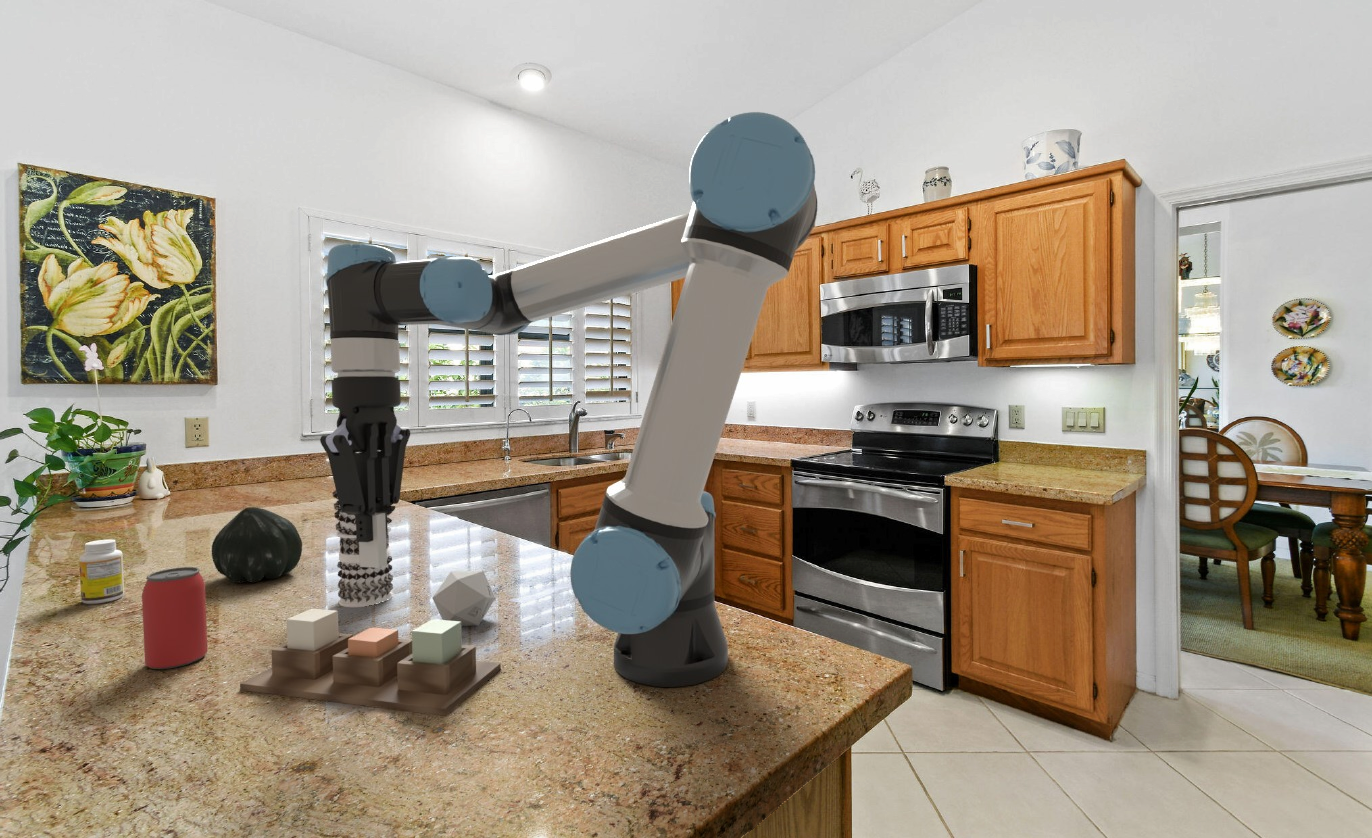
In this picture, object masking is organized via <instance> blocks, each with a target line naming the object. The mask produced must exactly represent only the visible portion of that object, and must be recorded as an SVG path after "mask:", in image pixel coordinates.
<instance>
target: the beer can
mask: <svg viewBox="0 0 1372 838" xmlns="http://www.w3.org/2000/svg"><path fill="white" fill-rule="evenodd" d="M200 571H201V570H200V568H198V567H194V566H185V567H183V566H182V567H174V568H167V569H163V570H157V571H155V572H151V573H150V574H148V575H147V576H146V581H145V585H144V586H143V589H142V594H141V599H142V600H141V602H142V627H143V648H144V649H143V651H144V664H145V665H146V666H147V667H148V668H149V669H153V670H167V669H168V670H170V669H174V668H175V669H176V668H180V667H185V666H187V665H189V664H192V663H195V662H197V661H199V660H200V659H202V658H204V656H205V655H206V654H207V652H208V629H207V627H208V626H207V608H206V607H207V604H206V599H207V598H206V582H205V581H204V577H203V576H202V574H201V572H200Z"/></svg>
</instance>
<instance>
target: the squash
mask: <svg viewBox="0 0 1372 838" xmlns="http://www.w3.org/2000/svg"><path fill="white" fill-rule="evenodd" d="M302 553H303V541H302V538H301V536H300V534H299V531H298V530H297V528H296V526H295V525H294V524H293V522H291V521H290V520H289V519H287V518H286V517H283V516H282V515H279V514H277V513H275V512H272V511H271V510H267V509H264V508H260V507H255V506H249V507H244V508H243V509H241V510H240V511H239V512H238V513H237V514H236V515H235V516H234V517H232V519H231V520H229V521H228V523H226V524H225V525H224V526H223V527H222V528H221V530H220V531H219V532H218V533H217V534H216V535H215V537H214V539H213V542H212V545H211V558H212V561H213V565H214V567H215V569H216V570H217V572H218V573H220V574H221V575H222V576H224V577H226V579H228V580H230V581H231V582H232V583H236V584H237V583H238V584H240V583H246V582H250V583H253V584H255V583H257V582H260V581H261V580H263V578H264V577H265V578H266V579H268V580H269V579H270V580H272V579H278V578H279V577H280V576H283V575H286V574H288V573H290V572H291V571H293V570H294V569H295V568H296V567H297V565H298V564H299V562H300V560H301V557H302Z"/></svg>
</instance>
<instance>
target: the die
mask: <svg viewBox="0 0 1372 838" xmlns="http://www.w3.org/2000/svg"><path fill="white" fill-rule="evenodd" d="M432 600H433V602H434V604H435V607H436V610H437V611H438V613H439V614H440V618H441V620H449V621H460V622H461V627H463V626H465V627H468V626H469V627H472V626H473V627H474V626H475V627H476V626H477V627H478V626H480V625H481V622H482V621H483V619H484V618H485V616H486V615H487V613H488V611H489V609H491V607H492V604H494V601H495V600H496V597H495V595H494V592H493V590H492V587H491V584H490V583H489V581H488V578H487V576H486V574H485V572H484V570H471V571H470V570H469V571H468V570H466V571H465V570H464V571H463V570H462V571H459V570H458V571H456V570H455V571H454V570H452V571H450V572H449V574H448V575H447V576H446V578H445V579H444V581H443V582H442V584H441V585H440V586H439V588H438V589H437V590H436V591H435V593H434V594H433V596H432Z"/></svg>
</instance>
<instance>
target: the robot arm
mask: <svg viewBox="0 0 1372 838" xmlns="http://www.w3.org/2000/svg"><path fill="white" fill-rule="evenodd" d="M688 177H689V178H688V179H689V181H688V182H689V183H688V184H689V185H688V186H689V194H690V196H691V198H692V205H691V207H690V211H689V212H686V213H683V214H681V215H677V216H673V217H671V218H667V219H665V220H661V221H658V222H656V223H655V222H654V223H653V224H648V225H646V226H643V227H639V228H637V229H632V230H630V231H627V232H624V233H620V234H617V235H615V236H610V237H608V238H605V239H602V240H599V241H596V242H593V243H590V244H587V245H584V246H580V247H577V248H574V249H571V250H567V251H564V252H562V253H559V254H558V253H557V254H555V255H552V256H549V257H545V258H543V259H540V260H536V261H534V262H530V263H527V264H523V265H521V266H517V267H516V268H513V269H510V270H506V271H503V272H499V273H496V274H492V275H489V273H488V272H487V270H486V269H484V268H483V267H482V265H481V263H480V262H479V261H478V260H477V259H474V258H472V257H465V256H463V257H454V256H448V255H447V256H441V257H437V258H429V259H428V258H426V259H418V260H417V259H416V260H414V259H413V260H403V261H401V260H400V261H397V260H396V259H397V258H396V254H395V253H394V252H393V251H392V250H391V249H389V248H386V247H383V246H380V245H374V244H367V243H360V244H359V243H356V244H355V243H342V244H337V245H334V246H333V247H331V248H330V250H329V252H328V254H327V271H326V272H327V273H326V279H325V284H326V288H327V298H328V299H327V300H328V315H329V331H330V333H329V339H330V359H331V360H330V361H331V371H332V372H333V374H334V373H335V374H337V376H336V377H333V379H332V380H331V400H332V401H331V402H332V405H333V407H334V408H337V409H338V412H339V413H338V414H339V415H338V417H337V419H336V420H337V421H336V428H335V430H334V431H333V432H332V433H331V434H323V435H321V437H320V438H319V439H320V440H319V442H320V444H321V446H322V448H323V450H324V451H325V453H326V455H327V457H328V461H329V462H328V463H329V466H330V471H331V475H332V478H333V482H334V484H333V485H334V487H335V490H336V492H337V496H338V499H337V501H339V507H340V509H341V511H342V512H344V513H347V514H348V515H355V518H356V533H357V534H356V538H357V541H358V542H359V557H360V567H372V568H380V567H382V566H385V565H387V549H386V536H387V532H388V528H387V525H388V523H387V517H388V516H387V512H392V513H393V512H394V511H395V510H396V505H397V504H398V503H399V501H400V499H401V498H400V497H401V487H402V481H403V473H404V466H405V465H404V464H405V457H406V447H407V445H408V443H409V439H410V437H411V431H410V429H408V428H402V427H400V426H399V425H398V424H397V423H398V422H397V421H398V420H397V416H396V413H395V409H394V408H396V407H399V406H400V405H401V403H402V399H401V398H402V397H401V379H399V377H396V374H397V373H399V372H400V371H401V361H400V360H401V359H400V358H401V357H400V341H399V326H408V325H414V326H416V325H440V326H446V327H452V328H453V327H454V328H459V329H465V330H472V331H477V332H482V333H483V332H484V333H488V334H491V335H494V336H506V335H510V336H511V335H517V334H519V333H522V331H524V330H525V329H527V328H528V326H529V325H530V324H532V323H535V322H539V321H541V320H545V319H548V318H552V317H555V316H558V315H562V314H566V313H568V312H572V311H575V310H576V311H577V310H580V309H582V308H587V307H590V306H593V305H597V304H599V303H602V302H607V301H609V300H613V299H617V298H620V297H623V296H627V295H631V294H635V293H638V292H640V291H643V290H644V291H645V290H648V289H651V288H654V287H659V286H661V285H664V284H668V283H672V282H675V281H679V280H682V279H684V282H683V285H682V288H681V292H680V295H679V297H678V298H679V299H678V302H677V305H676V307H675V308H676V309H675V312H674V314H673V318H672V321H671V325H670V328H669V331H668V334H667V337H666V340H665V341H666V342H665V344H664V348H663V351H662V354H661V358H660V361H659V364H658V367H657V371H656V374H655V378H654V380H653V382H652V383H653V385H652V388H651V390H650V394H649V397H648V401H647V403H646V406H645V411H644V414H643V418H642V420H641V424H640V427H639V429H638V434H637V436H636V440H635V443H634V446H633V450H632V454H631V455H630V460H629V462H628V467H627V469H626V474H625V476H624V477H623V478H622V479H621V480H619V481H617V482H614V483H613V484H611V485H609V486H607V489H606V491H605V495H604V498H603V501H602V505H601V507H600V511H599V513H598V517H597V520H596V522H595V523H596V524H595V527H594V530H593V531H592V532H589V533H588V534H586V535H585V536H584V539H583V540H582V541H581V542H580V544H579V545H578V547H577V549H576V550H575V552H574V554H573V556H572V560H571V563H570V568H569V569H570V572H569V573H570V574H569V575H570V578H569V579H570V584H571V589H572V591H573V592H572V593H573V594H574V597H575V598H576V599H577V601H578V604H580V606H581V609H582V611H584V613H585V614H586V615H587V616H588V617H589V618H590V619H591V620H592V621H593V622H594V623H596V624H597V625H599V626H600V627H602V628H604V629H606V630H608V631H611V632H614V633H617V635H616V638H615V642H614V645H613V666H614V669H615V670H616V672H617V673H618V674H619V675H620V676H622V677H624V678H625V679H627V680H629V681H632V682H634V683H637V684H641V685H646V686H652V687H660V688H661V687H666V688H668V687H669V688H674V687H685V686H692V685H698V684H701V683H704V682H707V681H710V680H713V679H714V678H717V677H718V676H720V674H722V673H723V672H725V670H726V669H727V667H728V665H729V664H728V663H729V647H728V646H729V645H728V642H727V638H726V635H725V632H724V629H723V626H722V623H721V620H720V616H719V613H718V611H717V607H716V603H715V520H716V517H717V516H716V514H717V513H716V512H715V502H714V498H713V495H712V494H711V493H710V492H707V491H705V486H706V484H707V481H708V477H709V475H710V471H711V469H712V468H711V467H712V465H713V461H714V458H715V455H716V452H717V448H718V447H719V442H720V439H721V437H722V433H723V431H724V427H725V424H726V421H727V418H728V414H729V412H730V409H731V405H732V402H733V400H734V396H735V393H736V390H737V386H738V383H739V381H740V377H741V374H742V371H743V368H744V364H745V362H746V359H747V356H748V352H749V349H750V346H751V343H752V340H753V337H754V333H755V330H756V327H757V324H758V320H759V318H760V314H761V311H762V308H763V306H764V302H765V299H766V296H767V293H768V290H769V288H770V287H771V286H773V285H774V284H777V283H778V282H780V281H782V280H783V279H785V278H787V277H788V275H789V271H790V268H791V265H792V262H793V259H794V256H795V254H796V251H797V250H798V249H799V248H800V247H801V246H802V245H803V244H804V243H805V242H806V241H807V239H808V238H809V237H810V235H811V233H812V231H813V230H814V227H815V223H816V221H817V216H818V196H817V191H816V186H815V179H816V167H815V161H814V157H813V154H812V152H811V150H810V148H809V146H808V144H807V141H806V140H805V139H804V136H803V135H802V134H801V132H800V131H799V130H798V129H797V128H796V127H795V126H794V125H793V124H792V123H790V122H788V121H787V120H785V119H784V118H782V117H780V116H778V115H774V114H771V113H766V112H760V111H752V112H750V111H749V112H743V113H739V114H736V115H732V116H730V117H728V118H727V119H724V120H723V121H722V122H720V123H717V124H716V125H715V126H713V127H712V128H711V129H709V130H708V132H707V133H705V135H704V136H703V137H702V138H701V140H700V141H699V143H698V144H697V146H696V148H695V150H694V153H693V155H692V157H691V161H690V165H689V173H688ZM390 493H391V494H390ZM388 533H389V532H388Z"/></svg>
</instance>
